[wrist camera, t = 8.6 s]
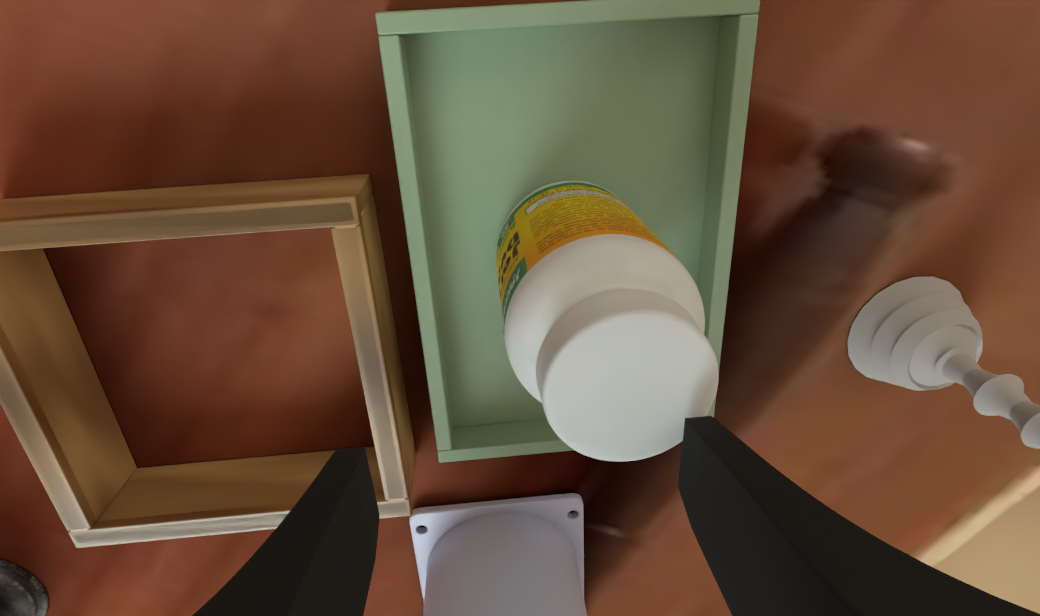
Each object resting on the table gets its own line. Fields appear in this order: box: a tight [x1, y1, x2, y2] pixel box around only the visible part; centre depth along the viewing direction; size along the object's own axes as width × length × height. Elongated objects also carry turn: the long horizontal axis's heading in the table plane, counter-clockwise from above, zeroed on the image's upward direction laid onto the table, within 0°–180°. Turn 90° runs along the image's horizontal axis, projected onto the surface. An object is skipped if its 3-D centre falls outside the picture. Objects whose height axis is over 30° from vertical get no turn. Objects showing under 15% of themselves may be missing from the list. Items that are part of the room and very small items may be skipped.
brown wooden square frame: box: [0, 174, 416, 548], centre depth 21 cm, size 13×13×4 cm
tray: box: [375, 0, 760, 463], centre depth 21 cm, size 16×11×2 cm
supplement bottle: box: [496, 181, 719, 462], centre depth 17 cm, size 5×5×10 cm
